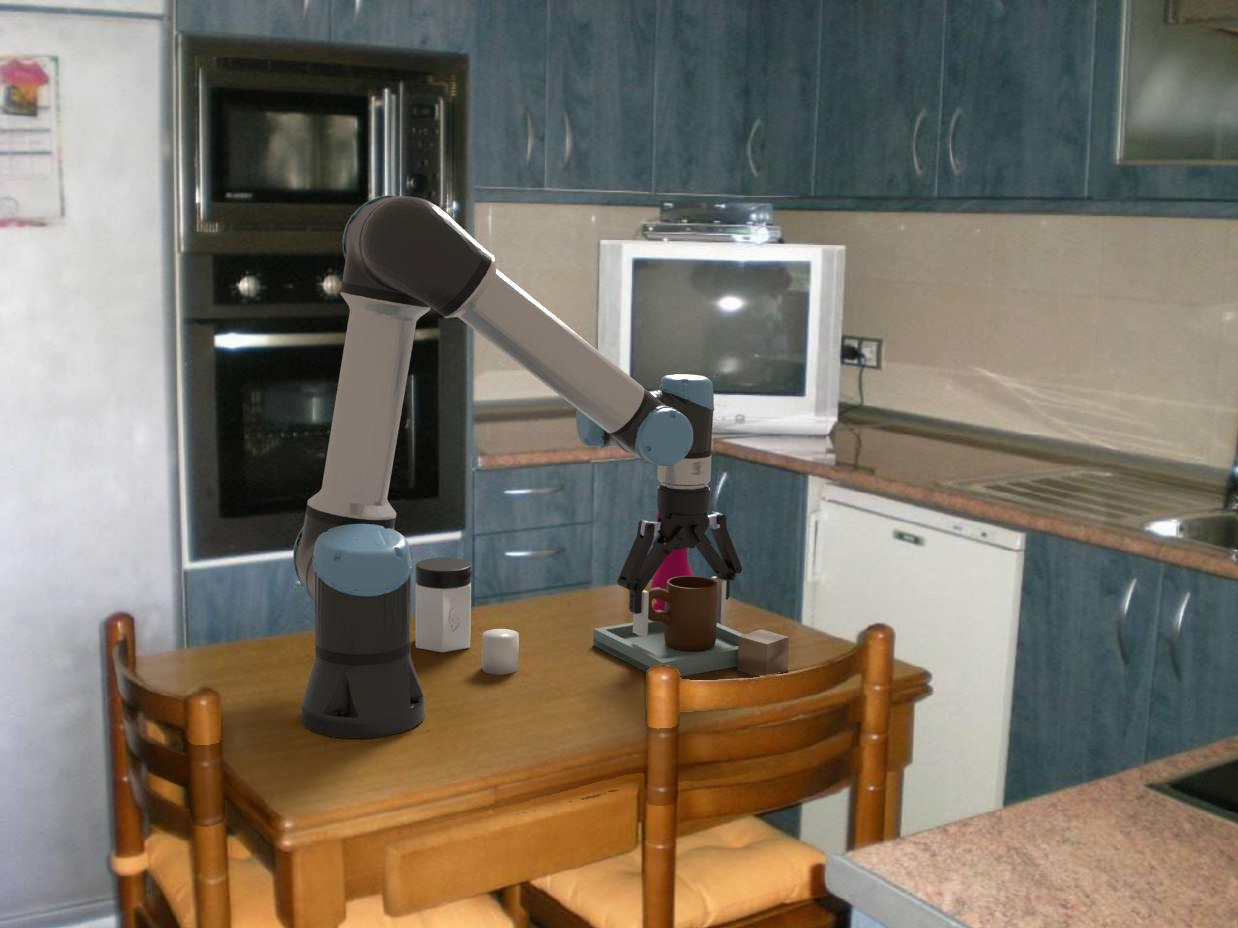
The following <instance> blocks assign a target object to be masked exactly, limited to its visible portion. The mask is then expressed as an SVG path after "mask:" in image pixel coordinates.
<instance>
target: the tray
mask: <svg viewBox="0 0 1238 928" xmlns="http://www.w3.org/2000/svg"><path fill="white" fill-rule="evenodd" d="M664 630H665V625H664V624H663V623H661V622H654V621H650V620H649V619H648V637H642V636H639V635H637V634H635V633H633V622H626V623H621V624H615V625H608V626H603V627H595V628H593V643H592V645H593V646H595V647H596V648H598V649H599V650H602V649H603V650H602V651H604V652H605V653H608V654H610V655H612V656H614V657H616V658H618V659H619V658H620V659H619V660H621V659H622V661H623V660H624V661H623V662H625V661H626V663H627V662H628V663H627V664H629V663H630V665H631V664H632V666H633V665H634V667H635V666H636V667H635V668H637V669H639V670H641V671H643V672H645V673H647V672H646V671H647V670H648V669H649V668H650V667H652V666H655V665H660V664H666V665H670V666H673V667H675V668H677V669H678V670H679V672H680V674H681V677H680V678H682V677H685V676H693V675H698V674H704V673H709V672H714V671H719V670H724V669H729V668H736V667H738V643H739V636H741V635H744V633H742V632H740V631H738V630H735V629H732V628H730V627H728V626H726V625H724V624H719V623H717V631H716V642H715V645H714V646H713V647H712V648H710V649H708V650H704V651H681V650H676V649H673V648H671V647H669V646H668V645H667V644H666V643H665V638H664Z"/></svg>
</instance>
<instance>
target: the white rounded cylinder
mask: <svg viewBox="0 0 1238 928" xmlns="http://www.w3.org/2000/svg"><path fill="white" fill-rule="evenodd" d="M519 635H520V634H519V632H518V631H516V630H512V629H507V628H496V629H495V628H494V629H489V630H488V629H487V630H485V631H484V632H482V643H481V644H482V646H481V647H482V648H481V649H482V650H481V651H482V654H481V655H482V657H481V660H482V661H481V663H482V666H481V667H482V668H481V669H482V671H483V672H485V673H487V674H491V675H509V674H514V673H515V672H517V671H518V670H519V652H520V651H519V649H520V648H519V646H520V645H519V641H520V640H519V639H520V638H519V637H520V636H519Z"/></svg>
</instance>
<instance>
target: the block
mask: <svg viewBox="0 0 1238 928" xmlns="http://www.w3.org/2000/svg"><path fill="white" fill-rule="evenodd" d="M743 634H744V633H743ZM789 644H790V636H786V635H783V634H780V633H776V632H772V631H769V630H764V629H758V630H754V631H752V632H748V633H745V634H744V635H741V636H739V643H738V666H737V668H736V669H737V671H739V672H743V673H745V674H750V675H752V676H756V677H759V675H767V674H773V673H778V672H783V673H785V672H788V669H789V649H790V648H789V647H790V645H789Z"/></svg>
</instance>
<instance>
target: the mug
mask: <svg viewBox="0 0 1238 928" xmlns="http://www.w3.org/2000/svg"><path fill="white" fill-rule="evenodd" d="M646 591H647V592H649V603H648V620H650V621H654V622H661V623H663V624H664V625H665V630H664V638H665V643H666V644H667V645H668V646H669V647H671V648H673V649H676V650H681V651H704V650H708V649H710V648H712V647H713V646H714V645H715V642H716V631H717V608H718V589H717V582H716V581H714V580H712V579H711V578H710V577H709V578H708V577H704V576H699V575H698V576H696V575H693V576H680V577H674V578H671V579H669V580H668V581H667V584H666V590H665V589H662V588H659V587H655V588H652V589H651V588H650V589H648V590H646ZM654 598H658V599H661V600H664V601H665V611H662V610H654V609H653V605H652V602H653V600H655V599H654Z"/></svg>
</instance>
